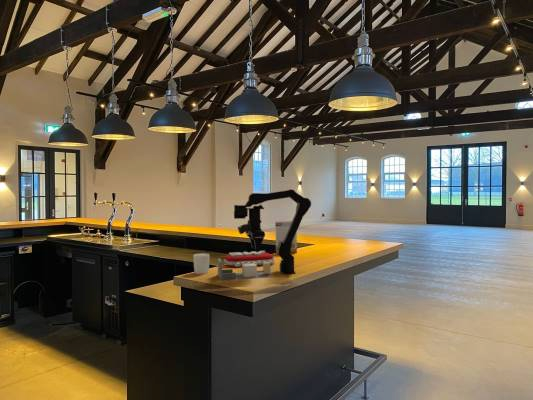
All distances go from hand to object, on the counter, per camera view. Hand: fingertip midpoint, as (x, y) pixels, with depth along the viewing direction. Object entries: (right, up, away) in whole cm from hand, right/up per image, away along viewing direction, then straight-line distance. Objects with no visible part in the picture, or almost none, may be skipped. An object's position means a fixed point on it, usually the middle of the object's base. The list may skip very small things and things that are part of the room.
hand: (255, 249), depth 198 cm
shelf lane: (-5, -12, -9) cm, 16 cm away
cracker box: (+19, -10, +68) cm, 72 cm away
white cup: (-27, -13, 0) cm, 29 cm away
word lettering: (-4, -12, +26) cm, 29 cm away
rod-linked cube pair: (+1, -11, -8) cm, 13 cm away
